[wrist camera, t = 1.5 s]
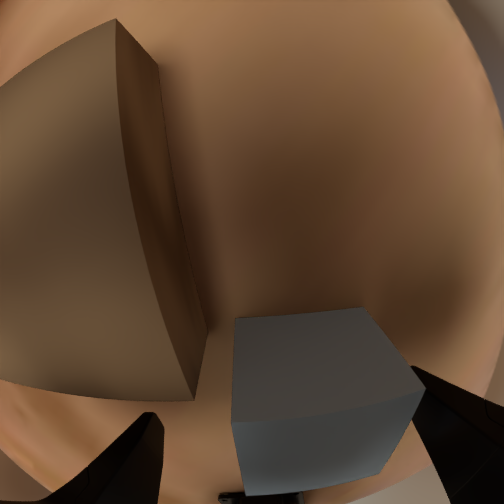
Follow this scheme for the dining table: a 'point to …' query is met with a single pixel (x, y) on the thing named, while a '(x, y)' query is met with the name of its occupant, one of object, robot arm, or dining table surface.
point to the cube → (317, 399)
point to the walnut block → (94, 229)
